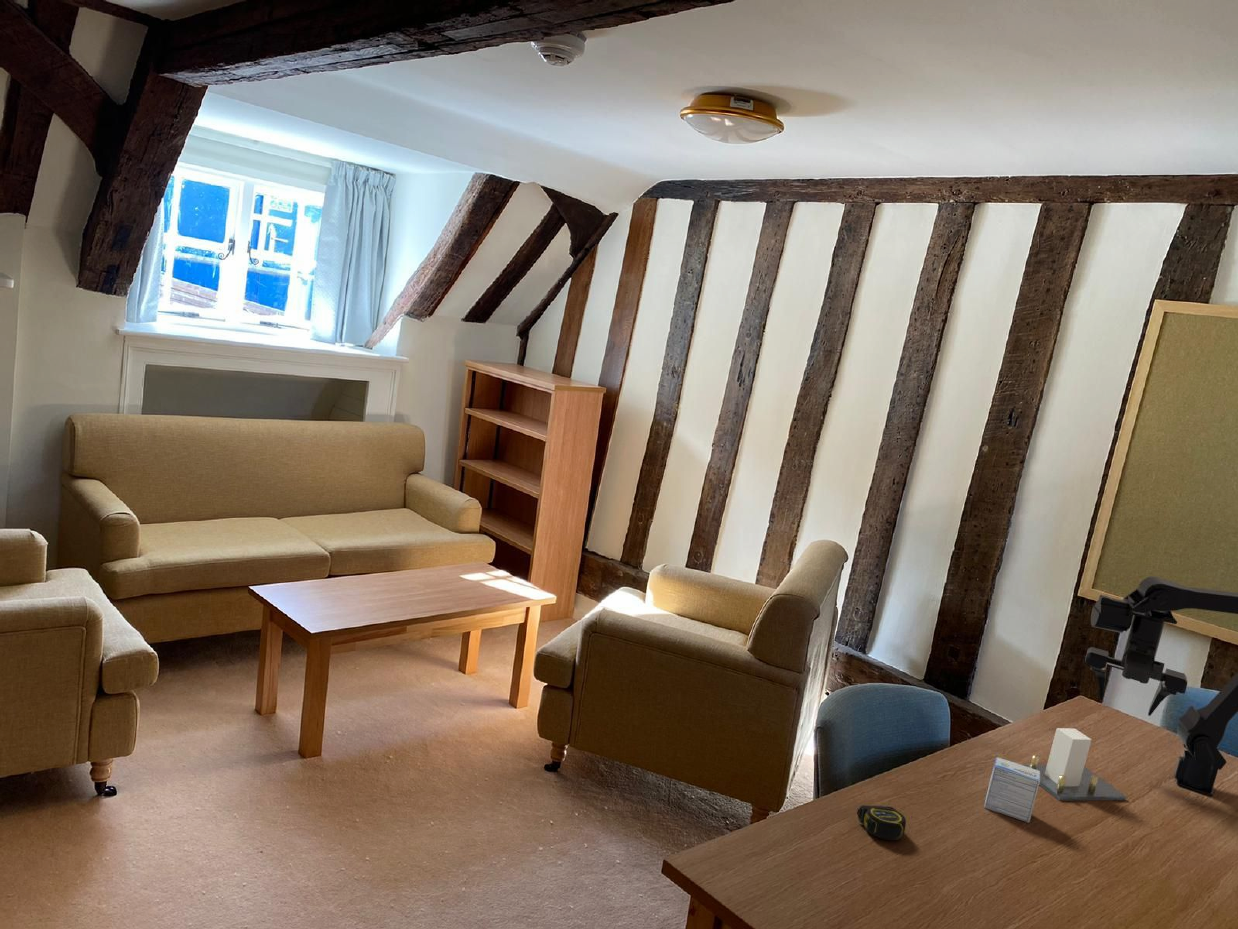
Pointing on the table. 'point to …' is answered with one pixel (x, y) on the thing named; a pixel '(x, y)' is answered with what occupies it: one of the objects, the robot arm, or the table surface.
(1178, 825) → the table surface
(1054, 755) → the block
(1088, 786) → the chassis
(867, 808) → the tape measure
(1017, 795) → the medicine box
